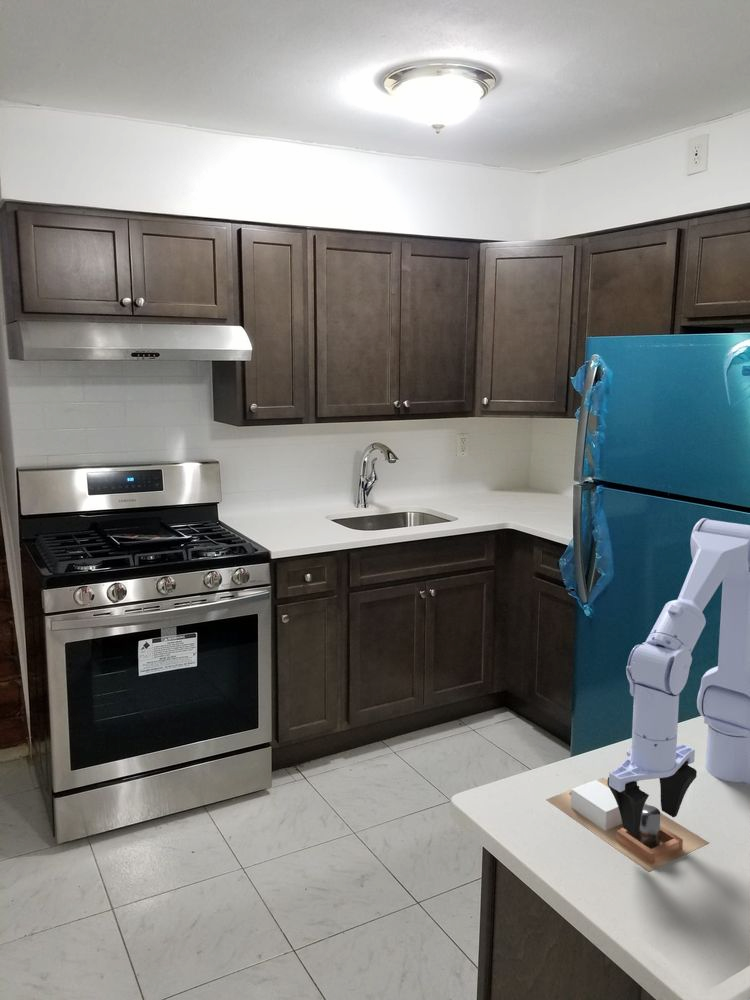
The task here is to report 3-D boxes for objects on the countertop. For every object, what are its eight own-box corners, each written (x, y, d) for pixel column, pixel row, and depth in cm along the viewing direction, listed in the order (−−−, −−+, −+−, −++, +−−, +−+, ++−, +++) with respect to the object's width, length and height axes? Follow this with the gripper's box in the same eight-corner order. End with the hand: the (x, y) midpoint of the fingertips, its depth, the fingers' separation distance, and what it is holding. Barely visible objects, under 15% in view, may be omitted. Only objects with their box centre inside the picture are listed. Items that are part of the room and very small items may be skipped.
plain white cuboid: (595, 797, 123) (595, 779, 122) (630, 820, 117) (631, 801, 116) (570, 807, 120) (571, 789, 120) (605, 830, 114) (606, 811, 114)
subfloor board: (602, 783, 128) (603, 769, 128) (708, 849, 111) (709, 832, 111) (545, 805, 122) (546, 790, 122) (648, 878, 105) (649, 861, 105)
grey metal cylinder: (664, 846, 110) (664, 813, 109) (647, 852, 109) (647, 820, 108) (649, 834, 113) (649, 802, 112) (632, 840, 112) (632, 808, 111)
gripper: (667, 706, 114) (663, 792, 117) (593, 732, 107) (590, 823, 110) (709, 726, 108) (703, 816, 111) (633, 755, 101) (629, 850, 104)
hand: (650, 821), depth 110 cm, fingers open, 7 cm apart
